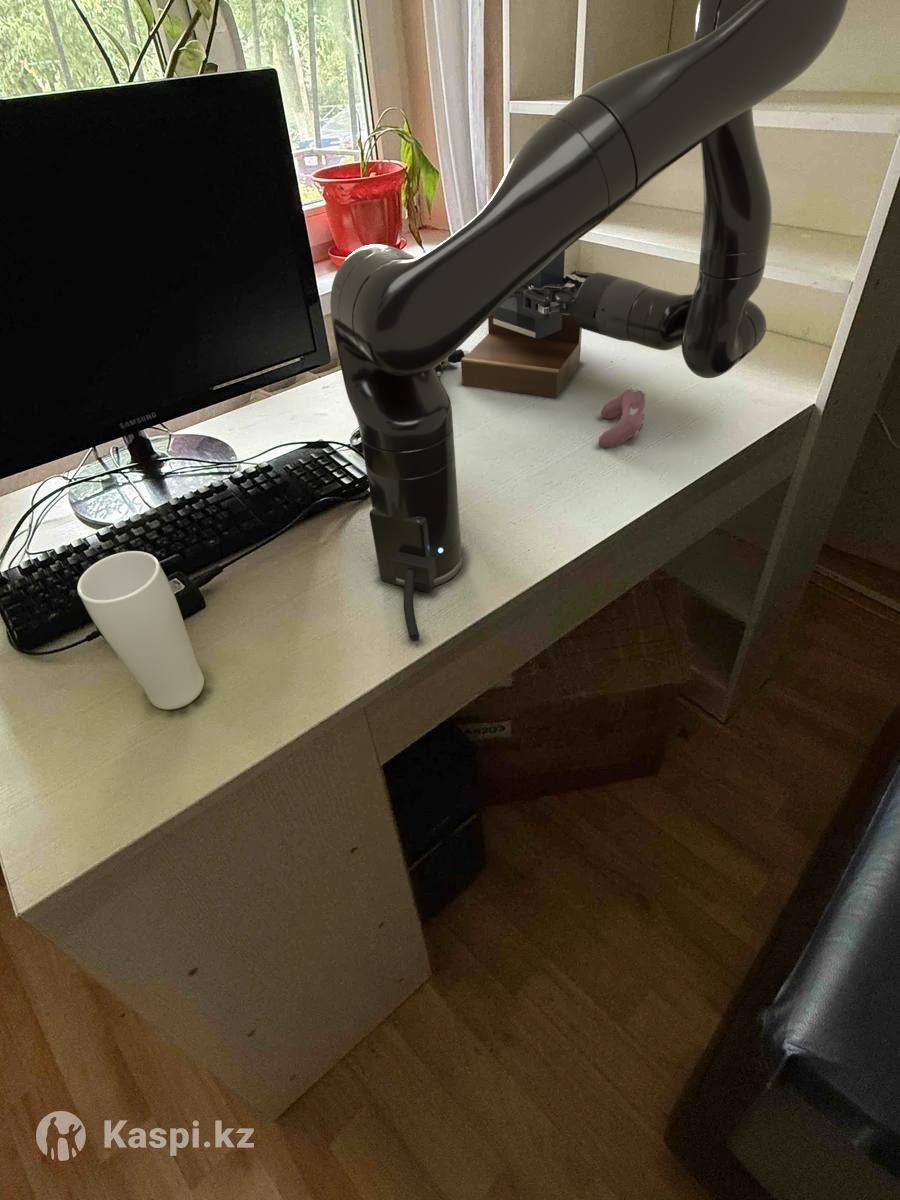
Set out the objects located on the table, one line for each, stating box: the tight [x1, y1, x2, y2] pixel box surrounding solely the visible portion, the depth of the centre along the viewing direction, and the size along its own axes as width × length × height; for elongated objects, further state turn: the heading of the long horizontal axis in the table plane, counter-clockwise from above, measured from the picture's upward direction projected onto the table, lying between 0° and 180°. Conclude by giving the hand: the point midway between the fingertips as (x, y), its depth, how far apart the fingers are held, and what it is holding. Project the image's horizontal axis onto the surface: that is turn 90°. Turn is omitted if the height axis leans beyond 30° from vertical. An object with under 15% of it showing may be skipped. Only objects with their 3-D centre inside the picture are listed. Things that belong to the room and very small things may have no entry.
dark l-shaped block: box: [493, 250, 566, 339], centre depth 104 cm, size 10×5×12 cm, turn 42°
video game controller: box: [598, 387, 646, 449], centre depth 96 cm, size 10×5×7 cm, turn 168°
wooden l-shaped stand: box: [460, 295, 583, 399], centre depth 110 cm, size 13×16×12 cm
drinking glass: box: [76, 550, 205, 711], centre depth 62 cm, size 7×7×15 cm
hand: (526, 283), depth 104 cm, fingers closed on dark l-shaped block, 5 cm apart
